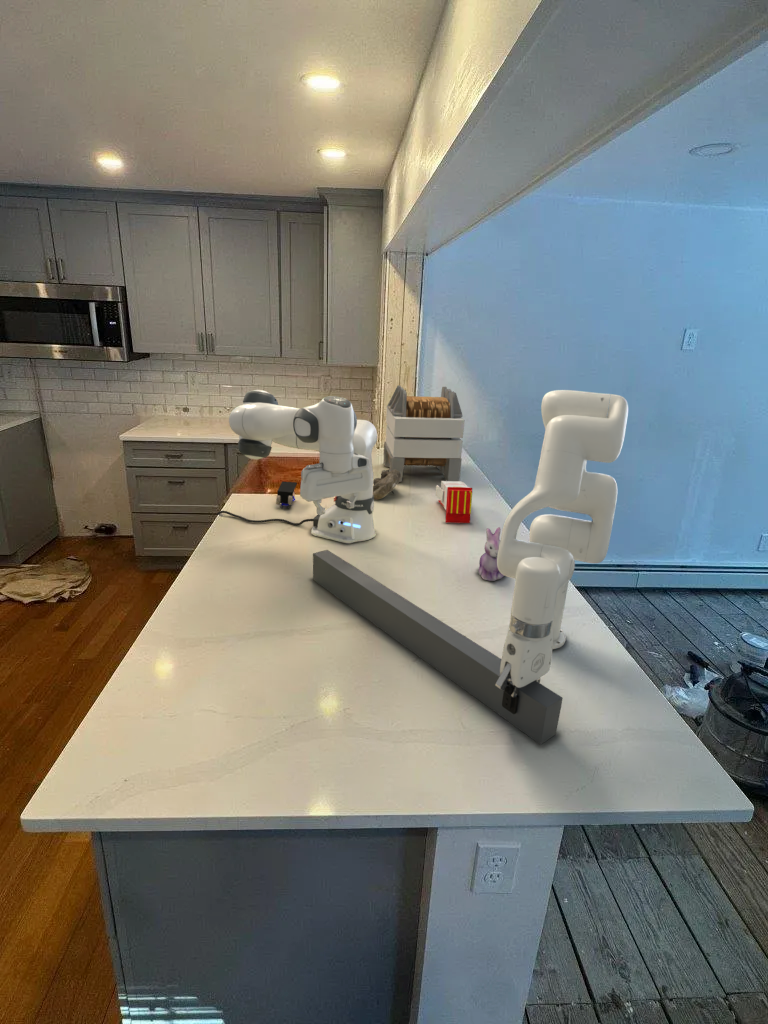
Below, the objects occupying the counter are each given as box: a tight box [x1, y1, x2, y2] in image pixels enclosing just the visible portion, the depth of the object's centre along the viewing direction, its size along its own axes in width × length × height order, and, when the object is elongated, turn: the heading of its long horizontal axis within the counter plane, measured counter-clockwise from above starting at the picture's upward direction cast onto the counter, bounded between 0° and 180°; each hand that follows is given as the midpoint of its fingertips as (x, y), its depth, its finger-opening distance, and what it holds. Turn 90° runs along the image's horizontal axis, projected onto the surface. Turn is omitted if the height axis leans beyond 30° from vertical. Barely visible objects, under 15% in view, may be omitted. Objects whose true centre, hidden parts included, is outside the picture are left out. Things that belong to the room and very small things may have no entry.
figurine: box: [478, 526, 504, 582], centre depth 169 cm, size 9×10×15 cm
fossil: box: [373, 469, 401, 501], centre depth 241 cm, size 22×10×15 cm
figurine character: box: [275, 480, 298, 509], centre depth 223 cm, size 7×8×15 cm
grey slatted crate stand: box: [383, 384, 465, 483], centre depth 268 cm, size 34×33×41 cm
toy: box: [435, 480, 473, 524], centre depth 223 cm, size 12×13×30 cm
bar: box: [312, 549, 564, 746], centre depth 134 cm, size 80×5×8 cm, turn 38°
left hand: (335, 510), depth 152 cm, fingers open, 8 cm apart
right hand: (518, 703), depth 111 cm, fingers closed on bar, 4 cm apart
